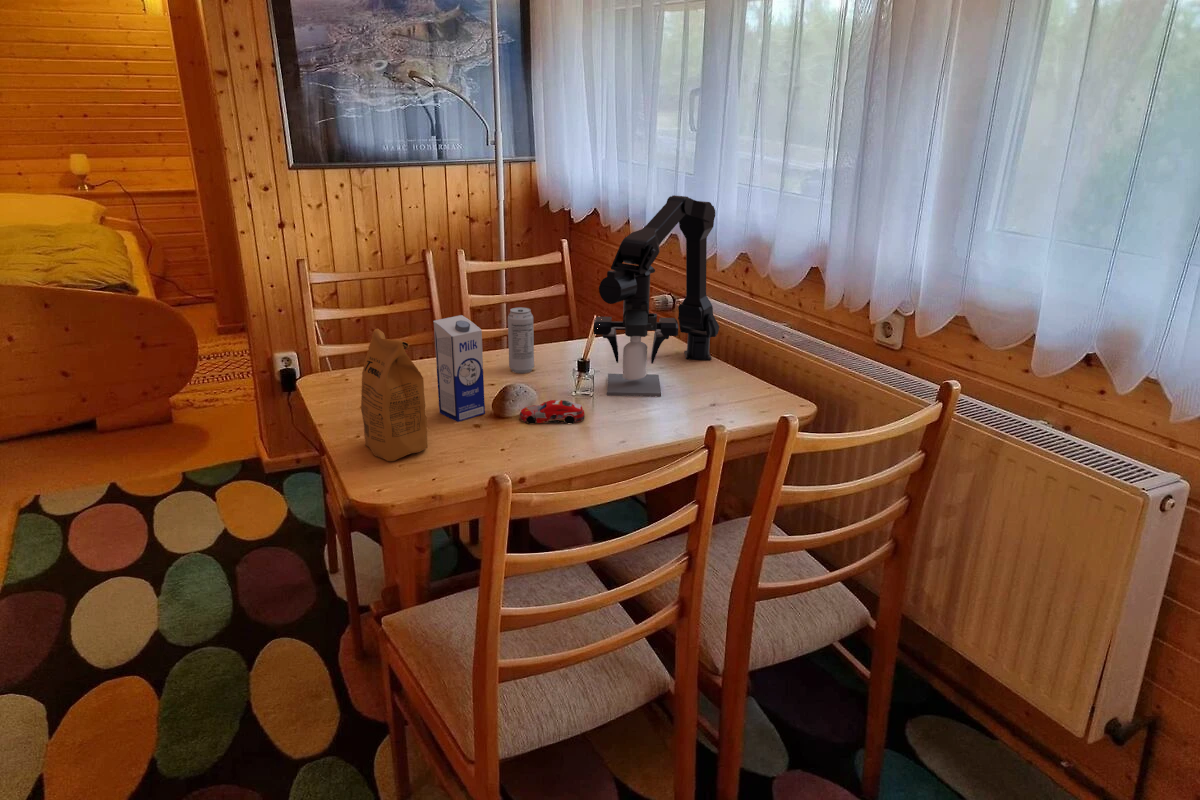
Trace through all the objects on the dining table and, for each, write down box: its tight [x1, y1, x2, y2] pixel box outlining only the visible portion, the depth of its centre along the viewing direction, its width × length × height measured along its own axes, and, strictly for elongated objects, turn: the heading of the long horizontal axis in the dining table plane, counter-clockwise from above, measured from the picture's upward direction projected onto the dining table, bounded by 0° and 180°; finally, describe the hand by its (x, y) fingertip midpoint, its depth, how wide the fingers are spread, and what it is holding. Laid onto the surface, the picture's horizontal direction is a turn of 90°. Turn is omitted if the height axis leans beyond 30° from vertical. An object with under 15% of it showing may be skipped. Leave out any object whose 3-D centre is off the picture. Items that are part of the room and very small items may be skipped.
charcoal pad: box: [606, 373, 662, 398], centre depth 178 cm, size 13×12×1 cm
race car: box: [519, 399, 585, 425], centre depth 158 cm, size 13×5×4 cm, turn 92°
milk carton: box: [433, 314, 486, 423], centre depth 158 cm, size 7×7×20 cm
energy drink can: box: [507, 306, 535, 374], centre depth 185 cm, size 6×6×15 cm
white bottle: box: [622, 336, 648, 380], centre depth 175 cm, size 4×6×12 cm
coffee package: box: [360, 328, 429, 462], centre depth 140 cm, size 10×12×22 cm
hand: (634, 362), depth 176 cm, fingers closed on white bottle, 7 cm apart
